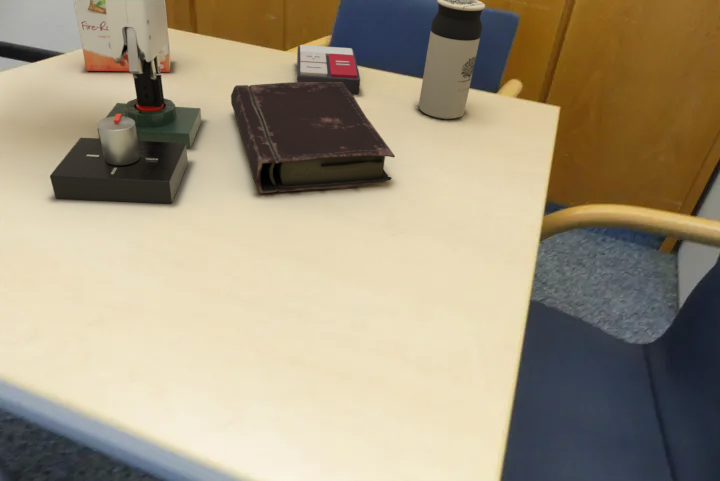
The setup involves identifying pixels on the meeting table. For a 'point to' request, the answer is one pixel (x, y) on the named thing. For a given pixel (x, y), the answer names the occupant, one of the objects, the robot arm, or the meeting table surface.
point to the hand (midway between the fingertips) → (151, 104)
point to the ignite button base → (162, 122)
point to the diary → (307, 137)
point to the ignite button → (149, 108)
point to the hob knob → (119, 140)
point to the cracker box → (106, 39)
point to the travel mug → (451, 58)
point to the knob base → (121, 173)
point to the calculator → (328, 66)
